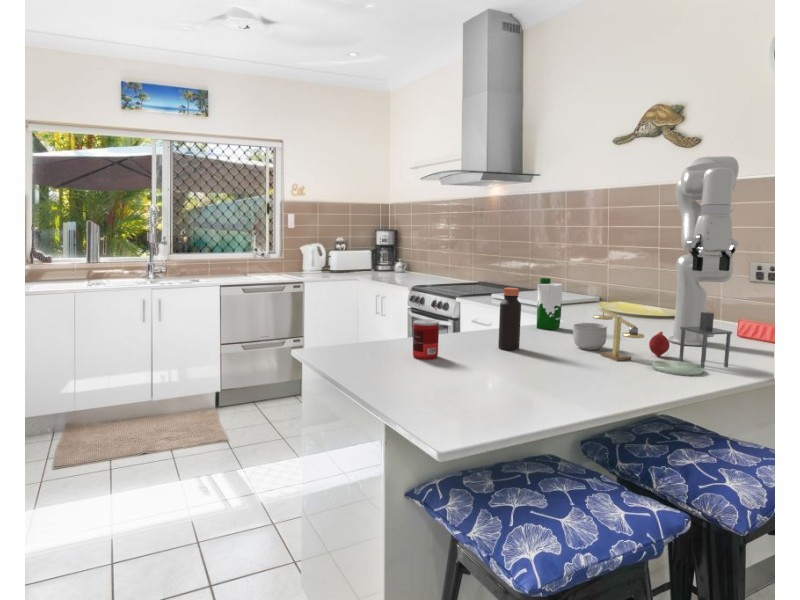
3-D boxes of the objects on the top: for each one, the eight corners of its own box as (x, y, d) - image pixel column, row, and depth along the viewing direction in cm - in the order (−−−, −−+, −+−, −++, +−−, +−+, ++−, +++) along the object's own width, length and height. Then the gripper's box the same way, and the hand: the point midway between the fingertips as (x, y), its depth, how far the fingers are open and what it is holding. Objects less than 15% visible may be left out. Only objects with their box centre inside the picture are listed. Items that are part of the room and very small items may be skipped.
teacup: (608, 352, 184) (609, 328, 182) (573, 350, 186) (574, 326, 185) (601, 344, 197) (603, 321, 196) (569, 342, 199) (570, 320, 198)
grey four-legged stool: (703, 359, 175) (708, 310, 173) (729, 367, 166) (733, 314, 164) (677, 361, 173) (681, 310, 171) (702, 368, 163) (706, 315, 161)
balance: (587, 351, 185) (590, 307, 183) (603, 350, 187) (606, 306, 185) (629, 366, 165) (632, 316, 163) (646, 365, 167) (650, 316, 165)
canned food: (440, 355, 175) (441, 320, 174) (433, 360, 167) (434, 324, 166) (417, 353, 177) (418, 318, 176) (409, 358, 170) (409, 322, 169)
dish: (679, 363, 170) (679, 359, 170) (713, 374, 157) (714, 370, 157) (642, 365, 166) (642, 361, 166) (675, 376, 154) (675, 372, 154)
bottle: (498, 346, 191) (501, 287, 188) (519, 347, 189) (521, 287, 187) (497, 350, 184) (500, 289, 181) (519, 351, 183) (522, 289, 180)
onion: (659, 359, 175) (662, 333, 174) (644, 355, 180) (646, 330, 179) (672, 357, 178) (674, 332, 177) (656, 353, 183) (658, 329, 182)
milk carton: (540, 325, 233) (543, 277, 231) (562, 328, 229) (565, 278, 226) (533, 328, 226) (535, 278, 224) (555, 331, 221) (558, 280, 219)
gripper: (728, 212, 170) (723, 269, 172) (681, 211, 165) (676, 269, 167) (750, 212, 163) (744, 271, 165) (701, 210, 158) (696, 271, 160)
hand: (710, 270), depth 166 cm, fingers open, 9 cm apart
